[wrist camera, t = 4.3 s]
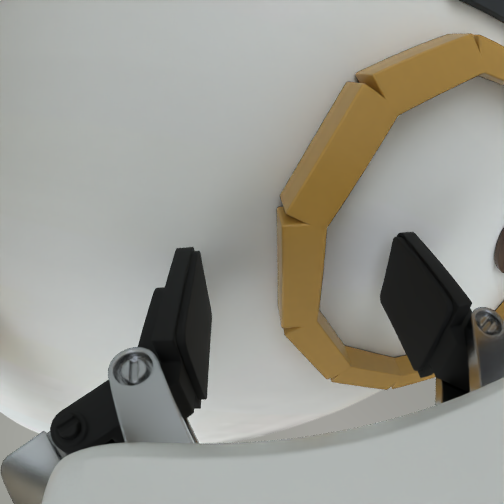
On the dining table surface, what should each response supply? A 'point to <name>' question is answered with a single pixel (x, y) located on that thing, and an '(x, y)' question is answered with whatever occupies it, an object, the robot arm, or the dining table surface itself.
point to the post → (500, 252)
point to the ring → (343, 181)
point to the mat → (489, 7)
